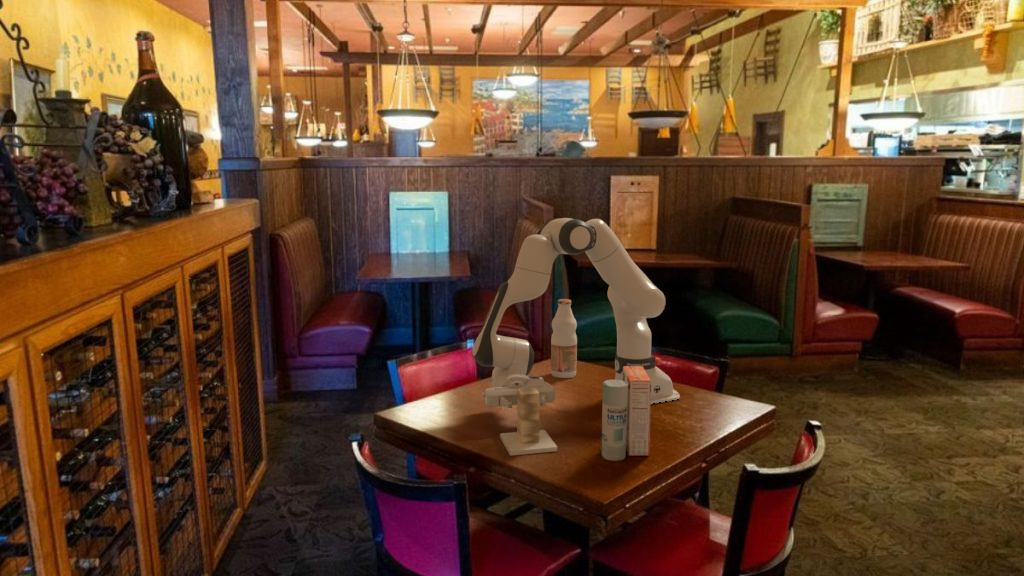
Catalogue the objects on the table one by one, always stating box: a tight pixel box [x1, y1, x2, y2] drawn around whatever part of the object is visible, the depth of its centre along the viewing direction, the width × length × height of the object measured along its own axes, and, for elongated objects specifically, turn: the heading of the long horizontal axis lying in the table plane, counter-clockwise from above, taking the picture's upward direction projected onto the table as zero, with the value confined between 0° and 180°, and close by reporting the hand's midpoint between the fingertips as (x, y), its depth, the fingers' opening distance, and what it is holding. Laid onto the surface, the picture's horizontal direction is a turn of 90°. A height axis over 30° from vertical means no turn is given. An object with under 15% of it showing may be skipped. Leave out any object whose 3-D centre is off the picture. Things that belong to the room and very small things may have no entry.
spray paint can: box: [601, 379, 628, 462], centre depth 185 cm, size 6×6×20 cm
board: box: [499, 429, 558, 456], centre depth 194 cm, size 13×13×1 cm
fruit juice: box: [550, 298, 578, 379], centre depth 257 cm, size 9×9×28 cm
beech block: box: [516, 388, 540, 444], centre depth 193 cm, size 5×5×14 cm
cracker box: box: [623, 366, 651, 457], centre depth 191 cm, size 14×6×21 cm, turn 178°
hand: (526, 404), depth 196 cm, fingers open, 8 cm apart
